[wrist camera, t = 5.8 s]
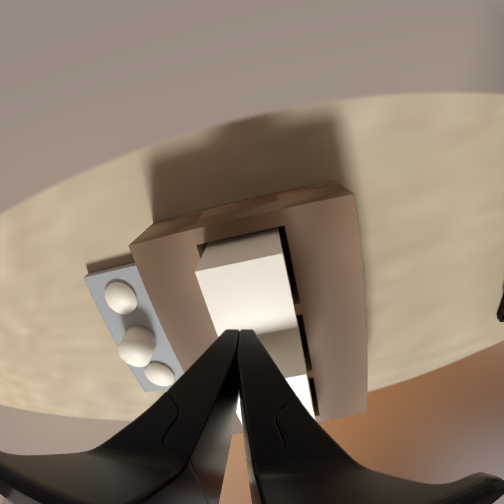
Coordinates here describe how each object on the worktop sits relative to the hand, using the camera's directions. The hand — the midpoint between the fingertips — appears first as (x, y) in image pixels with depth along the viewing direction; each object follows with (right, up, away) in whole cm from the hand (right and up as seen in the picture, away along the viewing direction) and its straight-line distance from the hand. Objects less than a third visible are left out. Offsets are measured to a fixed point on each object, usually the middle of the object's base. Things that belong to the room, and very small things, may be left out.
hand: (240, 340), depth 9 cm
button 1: (0, +3, +7) cm, 7 cm away
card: (-7, -3, +10) cm, 12 cm away
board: (+1, -1, +9) cm, 9 cm away
